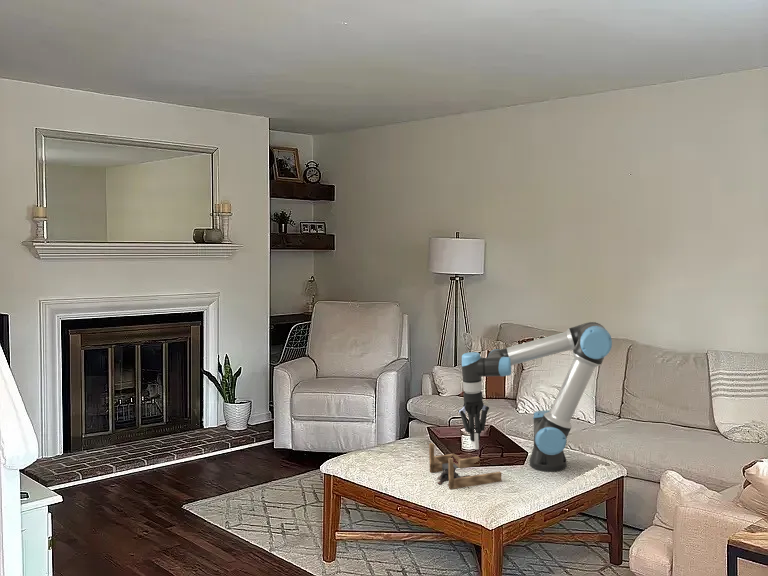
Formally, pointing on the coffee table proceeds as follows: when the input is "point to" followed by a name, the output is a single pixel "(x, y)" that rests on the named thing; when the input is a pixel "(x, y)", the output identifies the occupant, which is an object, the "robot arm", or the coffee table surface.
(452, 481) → the wooden rail pieces
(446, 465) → the mat
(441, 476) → the stuffed animal
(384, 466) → the coffee table surface
